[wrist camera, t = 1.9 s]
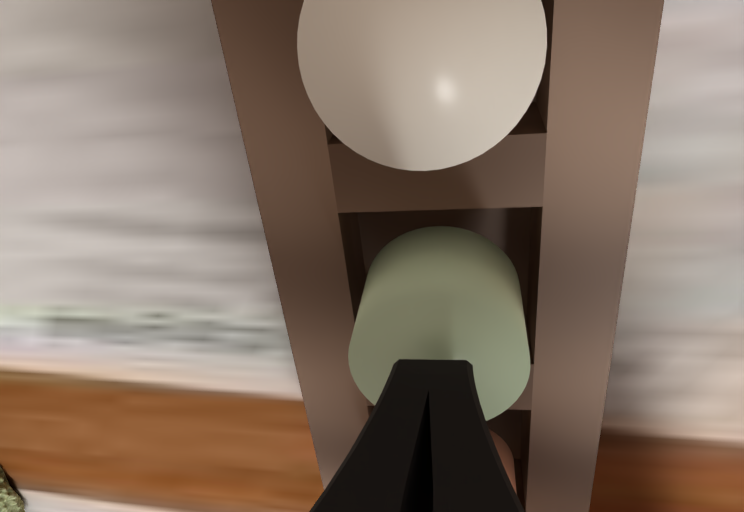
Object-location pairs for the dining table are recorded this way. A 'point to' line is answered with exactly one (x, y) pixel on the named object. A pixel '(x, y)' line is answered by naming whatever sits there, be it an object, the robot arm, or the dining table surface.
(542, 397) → the button panel
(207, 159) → the dining table surface
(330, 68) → the cream button
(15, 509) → the washcloth
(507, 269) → the sage button
